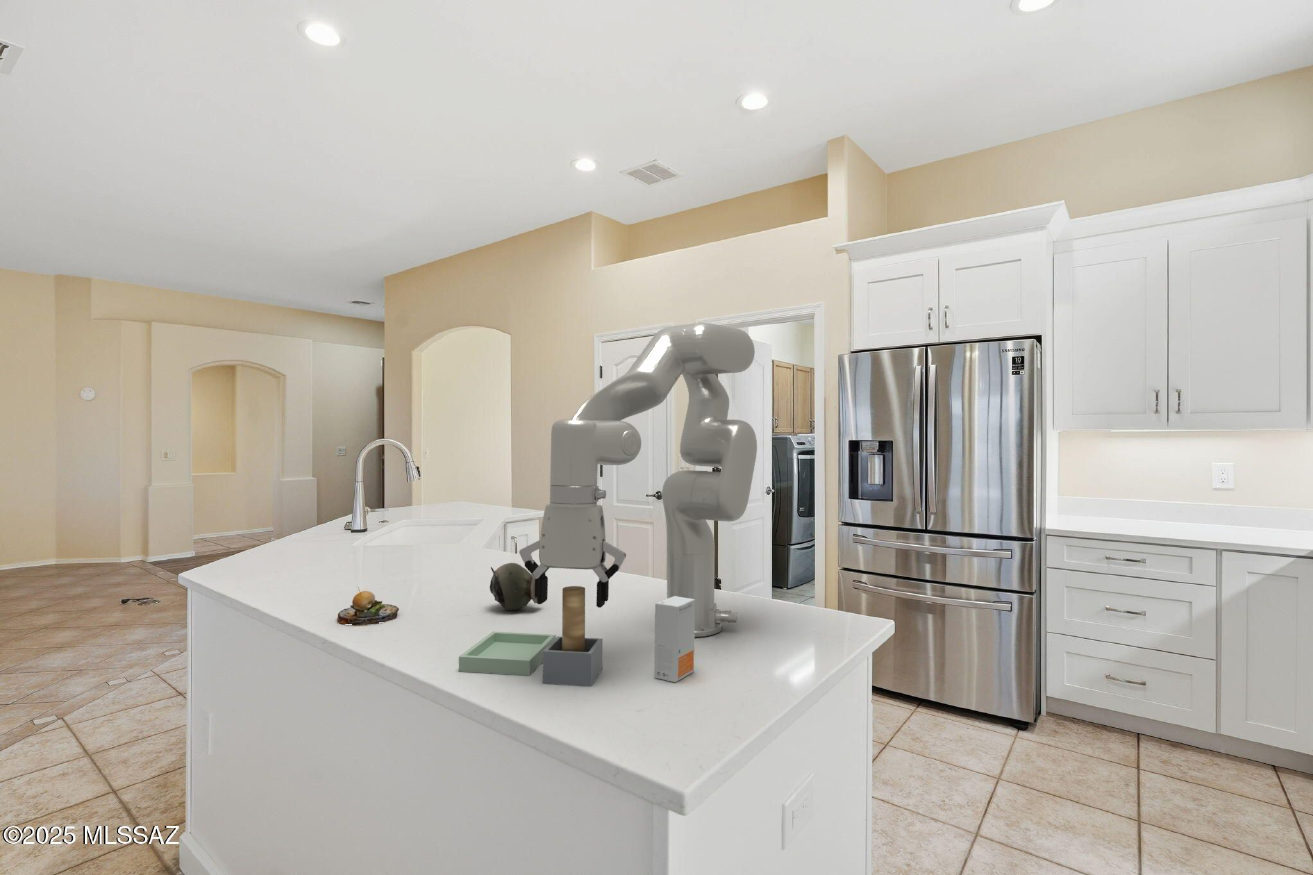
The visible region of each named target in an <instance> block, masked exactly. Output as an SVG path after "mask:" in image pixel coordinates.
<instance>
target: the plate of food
mask: <svg viewBox="0 0 1313 875" xmlns="http://www.w3.org/2000/svg"><path fill="white" fill-rule="evenodd" d="M357 588H358V590H359V592H358V593H356V594H355V595H354V596H353V598H352V602H351V603H352V604H351V605H350V606H349V607H347V608H344V609H342V610H340V611H339V612H338V613H337V623H338V624H342V625H343V624H352V625H353V626H354V627H357V626H358V627H360V626H363V627H364V626H368V625H367V624H374V625H379V622H384V623H386V622H390V621H393V620H396V619H397V617H398V612H399V611H400V608H399V607H398V606H396V605H392V604H389V603H388V604H387V603H385V604H384V603H383V600H380V601H379V600H377V599H376V596H375V594H374V593H373V592H371V591H369V590H368V591H367V590H364V591H360V588H359V587H358V586H357ZM353 626H351V625H350V627H353Z"/></svg>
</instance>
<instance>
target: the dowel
mask: <svg viewBox="0 0 1313 875" xmlns="http://www.w3.org/2000/svg"><path fill="white" fill-rule="evenodd" d="M561 594H562V595H561V596H562V599H561V600H562V604H561V605H562V607H561V608H562V615H561V620H562V622H561V623H562V624H561V625H562V631H561V633H562V634H561V635H562V636H561V637H562V651H574V652H585V638H586V587H584V586H580V585H572V586H565V587H563V588H562V593H561Z"/></svg>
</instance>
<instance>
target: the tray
mask: <svg viewBox="0 0 1313 875" xmlns="http://www.w3.org/2000/svg"><path fill="white" fill-rule="evenodd" d="M556 637H557V634H548V633H528V632H527V633H525V632H511V631H510V632H508V631H492V632H490V633H489V634H488V635H485V637H484V638H482V639H481V640H479V641H478V642H476V643H475V644H474V645H473V646H471V647H470V648H468V649H467V650H465V652H463V653H461V654H460V655H459V656H458V672H463V673H477V674H478V673H481V674H482V673H483V674H496V675H497V674H498V675H515V676H531V675H532V674H533V673H534V671H536V669H538V667H539V666H540V665H541V664H543V650H544V649H545V648H546V647H547V646H548V645H549V644H550V643H551V642H552V641H553V640H554V639H555V638H556Z"/></svg>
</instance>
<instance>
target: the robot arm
mask: <svg viewBox="0 0 1313 875" xmlns="http://www.w3.org/2000/svg"><path fill="white" fill-rule="evenodd" d="M755 354H756V351H755V345H754V342H753V339H752V338H751V336H750V335H749V334H748V333H747V332H746V331H745V330H742V329H740V328H737V327H736V328H735V327H731V326H726V325H720V324H715V323H712V322H711V323H709V322H695V323H689V324H688V323H687V324H681V325H680V324H679V325H678V324H677V325H671V326H666V327H664V328H662V329H660V330H658V331H657V332H656V333H655V334H654V335H653V337H652V338H651V339H650V340H649V342H648V343H647V344H646V346H645V347H644V349H643V350H642V351H641V353H640V354H639V355H638V357H637V358H636V359H635V361H634V362H633V363H632V365H631V366H630V368H629V369H628V371H627V372H625V373H624V374H623V375H621V376H620V377H618V378H617V379H615V380H613V381H612V382H610V383H609V384H607V385H606V386H604V387H603V388H601V389H600V390H597V392H595V393H594V394H593V395H591V396H590V397H589V398H587V400H586V401H584V402H583V404H582V405H581V406H579V408H578V410H577V411H576V412H575V413H574V414H573V415H572V418H570V419H558V420H556V421H554V422H553V424H552V426H551V432H550V433H551V434H550V436H551V437H550V474H549V483H550V484H549V503H547V504H545V507H544V512H543V516H542V522H541V529H540V537H539V540H536V541H535V542H533V543H531V544H529V545H527V546H525V547H523V548H521V549H520V550H519V551H518V552H519V553H518V554H519V555H520V557H521V560H522V562H523V564H524V568H525V569H526V570H527V571H528V572H529V573H530V574H532V577H533V578H534V579H535V598H537V603H536V604H537V605H542V604H544V603H545V602H547V601H548V592H549V591H548V588H549V586H548V585H549V584H548V581H549V578H548V576H547V575H546V574H547V572H548V571H549V569H550V568H551V569H567V570H568V569H569V570H592V571H593V573H595V575H596V576H597V577H598V581H597V582H596V602H595V603H596V604H595V605H596V607H597V608H602V607H603V606H604V605H605V604H606V602H608V600H609V595H610V594H609V592H610V591H609V589H610V588H609V587H610V586H609V584H610V582H609V580H610V579H611V578H613V576H614V575H615V574H616V573H617V572H618V571H620V569H621V566H622V565H623V563H624V562H625V559H626V557H627V554H626V552H625V551H623V550H621V549H619V548H617V547H615V546H614V545H612V544H611V543H609V542H608V541H606V537H607V536H606V525H605V522H606V521H605V516H604V510H603V505H601V504H598V502H599V500H601V499H605V500H606V497H607V492H606V491H607V490H602V489H600V488H599V485H598V473H599V472H598V471H599V468H598V467H599V465H602V466H622V465H627V464H629V463H631V462H632V461H634V460H635V459H636V458H637V456H638V455H639V454H640V452H641V448H642V439H641V434H640V433H639V431H638V429H637V428H636V427H635V426H634V425H632V424H631V423H630V422H628V421H623V420H625V419H627V418H629V417H632V416H635V415H639V414H642V413H645V412H647V411H649V410H651V409H653V408H656V407H658V406H660V405H661V404H662V403H664V401H665V400H666V398H667V397H668V395H669V393H670V392H671V391H672V389H673V387H674V385H675V384H676V383H677V381H678V380H679V378H680V377H681V375H682V377H683V379H684V382H685V384H686V385H685V386H686V388H687V391H688V392H687V393H688V403H687V409H686V414H685V419H684V423H683V428H682V434H681V437H680V443H679V444H680V445H679V453H680V454H679V455H680V456H681V458H682V460H683V461H684V462H685V463H687V464H689V465H691V466H695V467H696V466H698V467H710V468H711V467H713V468H715V467H716V468H721V470H720V471H708V470H691V469H690V470H689V469H688V470H680V471H679V470H678V471H675V472H673V473H672V474H670V475H669V476H668V477H667V478H666V479H665V481H664V483H663V486H662V491H661V499H662V500H661V501H662V505H663V509H664V514H665V515H664V516H665V523H666V524H665V525H666V599H667V598H671V597H673V596H678V597H683V598H690V599H695V636H694V638H699V637H701V638H702V637H708V636H712V635H716V634H718V633H720V632H721V631H722V630H723V629H722V628H723V623H724V622H725V623H733V624H737V622H738V620H737V619H738V614H737V612H732V611H731V610H720V608H717V602H715V551H716V550H715V547H716V546H715V545H716V544H715V538H714V534H713V532H712V528H711V527H710V526H709V525H710V524H708V521H714V522H715V521H716V522H728V523H729V522H735V521H737V520H740V518H742V516H744V514H745V511H746V510H747V506H748V504H749V503H748V502H749V500H750V499H749V498H750V494H751V488H752V482H753V477H754V472H755V465H756V460H757V452H758V451H757V450H758V442H757V435H756V432H755V429H754V428H753V427H752V425H751V424H749V423H748V422H746V421H744V420H742V419H728V416H729V415H728V414H729V410H730V398H729V394H728V392H727V390H726V388H725V387H724V385H723V384H722V383H721V381H720V380H719V378H718V376H717V375H720V374H735V373H742V372H745V371H746V370H748V369H749V368H750V367H751V365H752V364H753V363H754V359H755ZM536 551H538V554H539V555H538V559H539V564H538V563H537V562H536V561H535V560H534V559H533V556H532V553H535V552H536ZM607 554H608V555H609V556H612V557H613V562H612V564H611V566H610V567H609V568H607V566H606V565H605V562H606V559H607Z"/></svg>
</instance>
